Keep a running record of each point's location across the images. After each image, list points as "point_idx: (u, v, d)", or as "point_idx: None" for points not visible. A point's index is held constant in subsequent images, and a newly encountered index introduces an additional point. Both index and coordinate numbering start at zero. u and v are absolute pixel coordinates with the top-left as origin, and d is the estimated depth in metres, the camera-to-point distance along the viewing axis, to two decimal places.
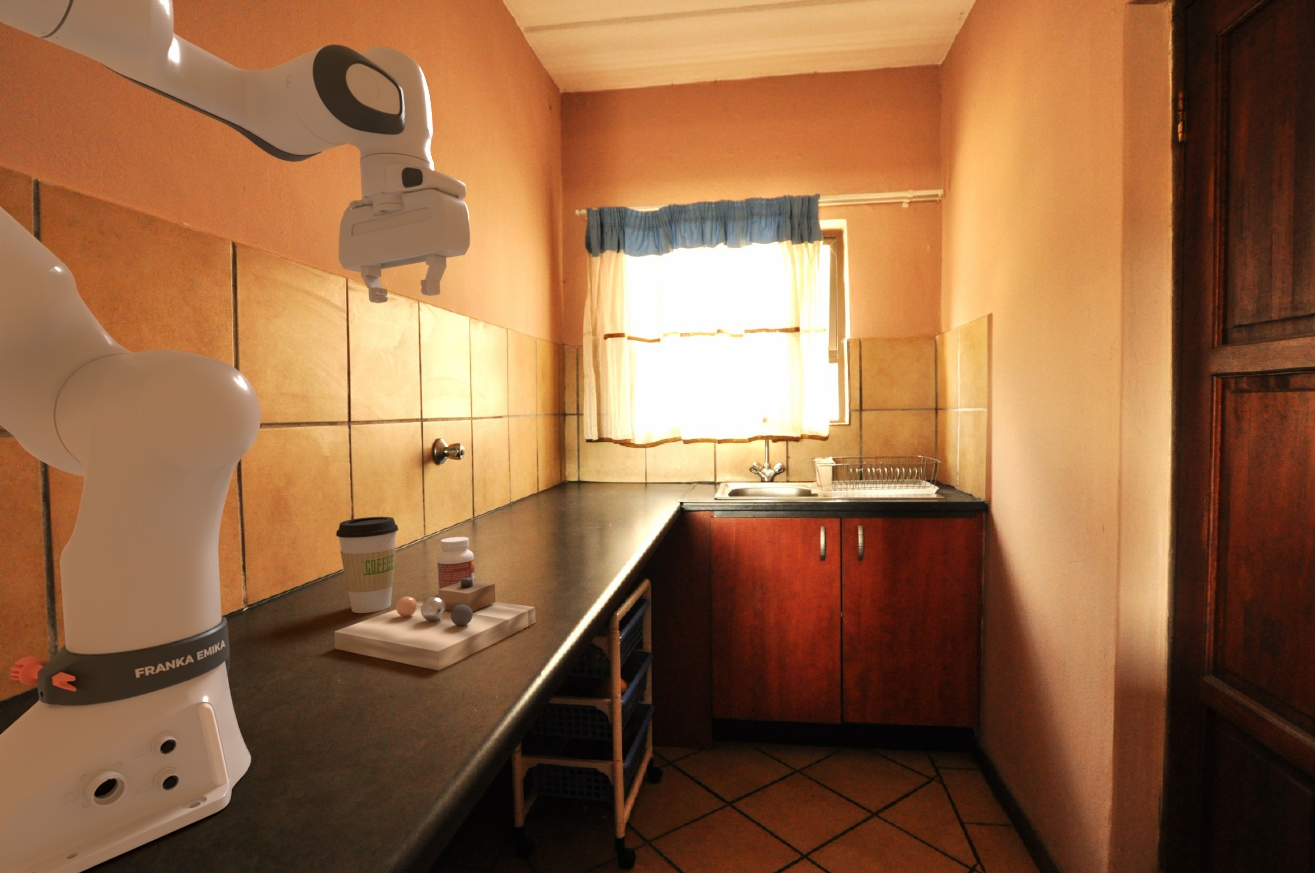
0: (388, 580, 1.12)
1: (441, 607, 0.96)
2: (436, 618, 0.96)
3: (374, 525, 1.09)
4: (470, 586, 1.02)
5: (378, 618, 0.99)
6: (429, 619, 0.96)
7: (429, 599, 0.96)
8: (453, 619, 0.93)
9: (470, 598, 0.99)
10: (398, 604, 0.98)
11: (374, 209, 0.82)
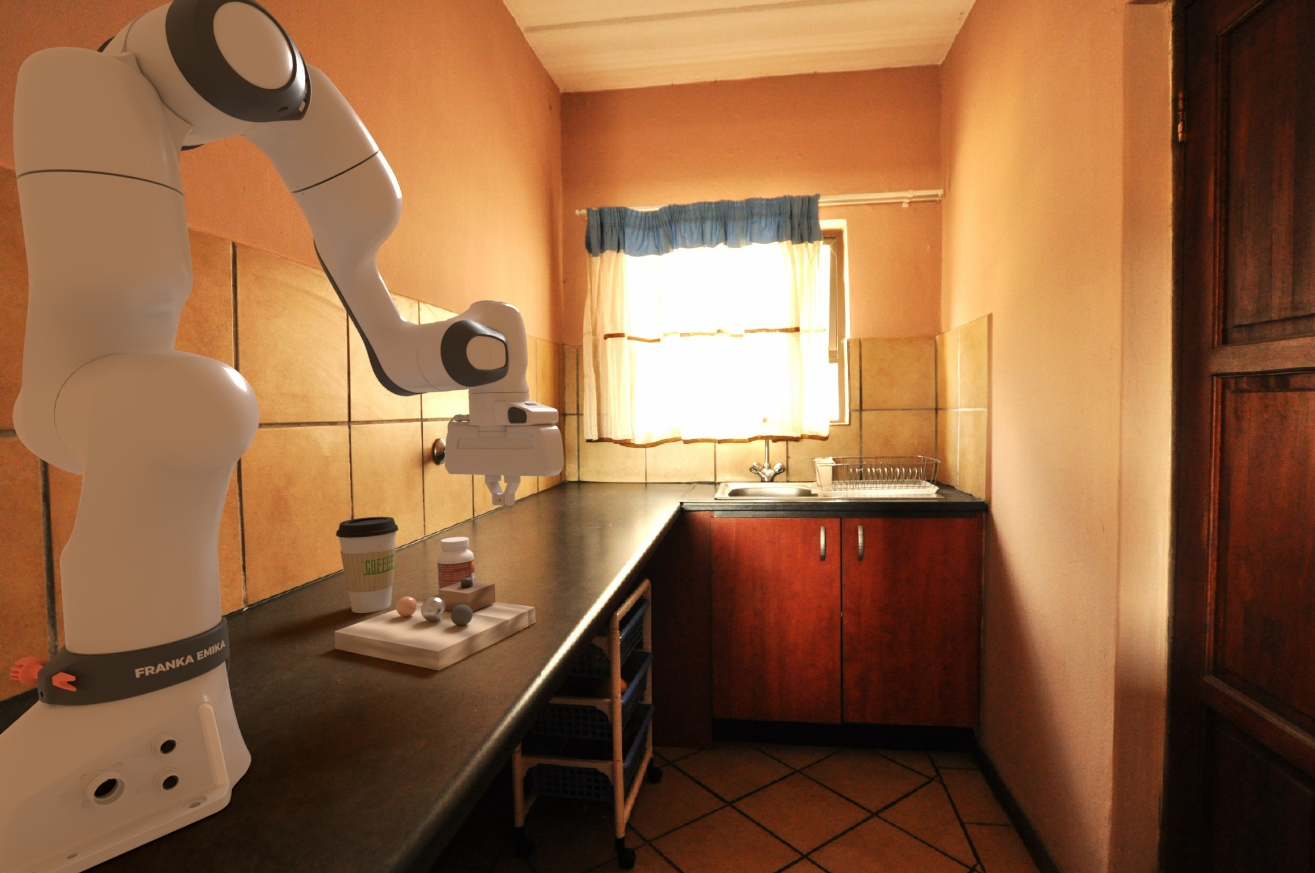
0: (388, 580, 1.12)
1: (441, 607, 0.96)
2: (436, 618, 0.96)
3: (374, 525, 1.09)
4: (470, 586, 1.02)
5: (378, 618, 0.99)
6: (429, 619, 0.96)
7: (429, 599, 0.96)
8: (453, 619, 0.93)
9: (470, 598, 0.99)
10: (398, 604, 0.98)
11: (480, 434, 0.96)
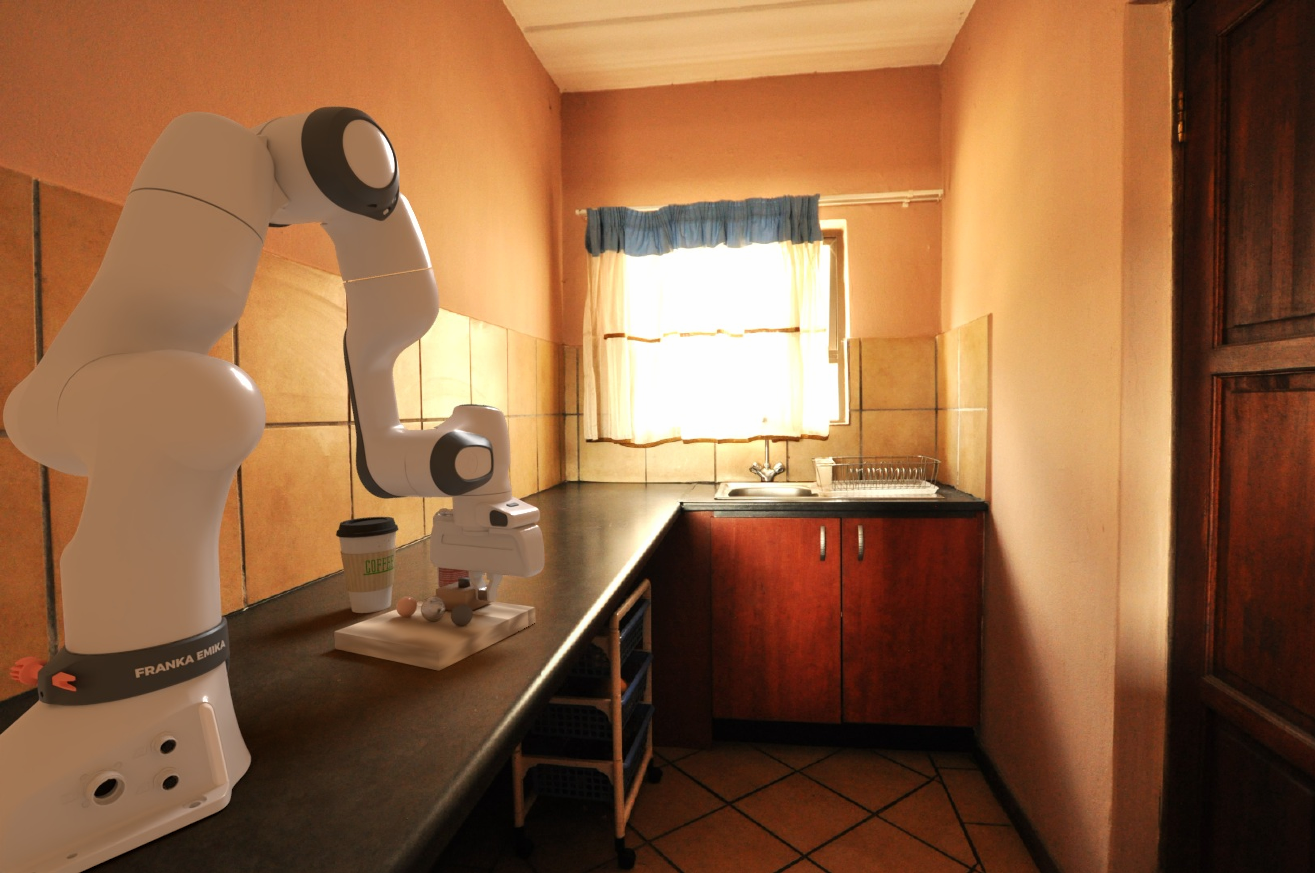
0: (388, 580, 1.12)
1: (441, 607, 0.96)
2: (436, 618, 0.96)
3: (374, 525, 1.09)
4: (467, 586, 1.03)
5: (378, 618, 0.99)
6: (429, 619, 0.96)
7: (429, 599, 0.96)
8: (453, 619, 0.93)
9: (467, 598, 1.00)
10: (398, 604, 0.98)
11: (464, 532, 0.99)
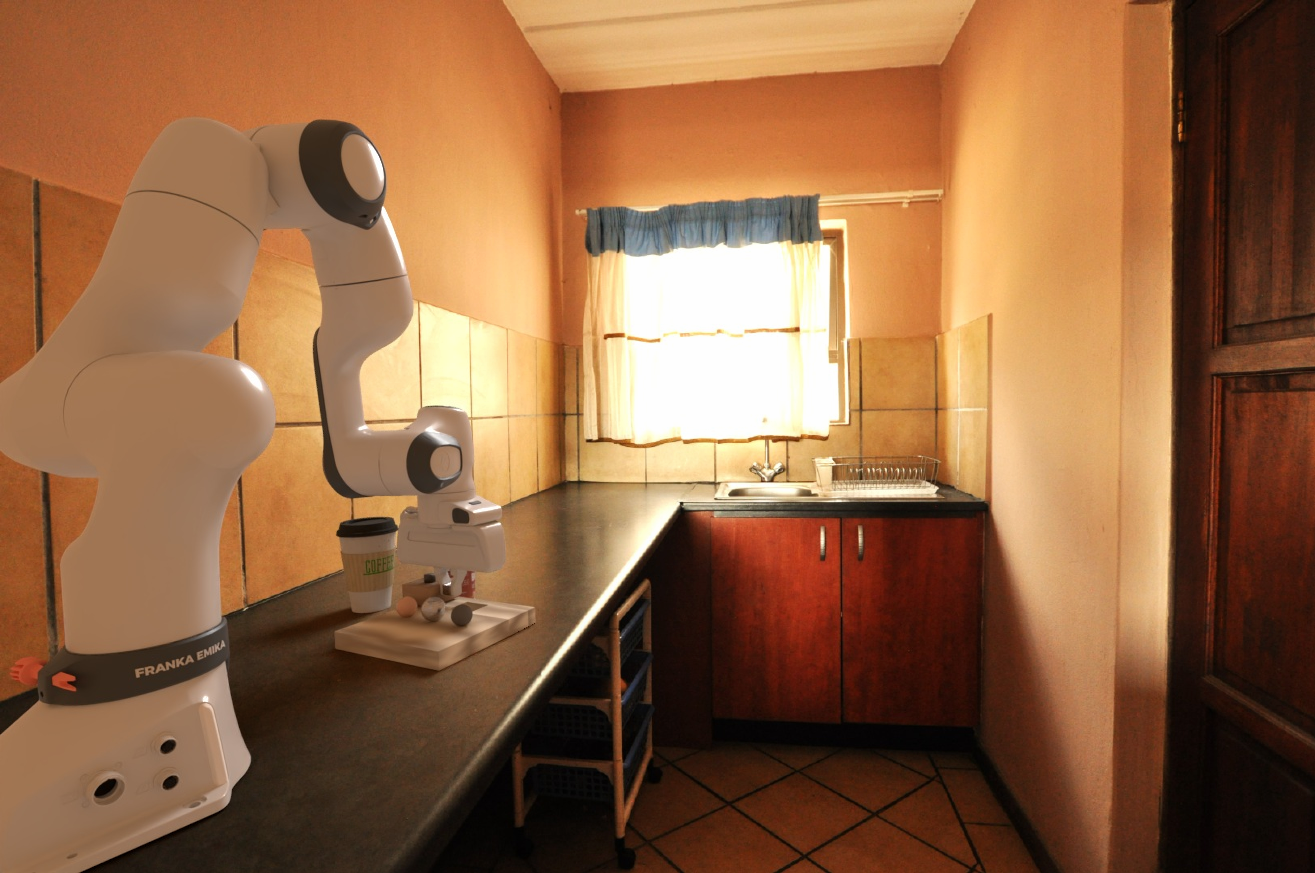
0: (388, 580, 1.12)
1: (441, 607, 0.96)
2: (436, 618, 0.96)
3: (374, 525, 1.09)
4: (433, 581, 1.06)
5: (378, 618, 0.99)
6: (429, 619, 0.96)
7: (429, 599, 0.96)
8: (453, 619, 0.93)
9: (432, 593, 1.03)
10: (398, 604, 0.98)
11: (428, 529, 1.02)
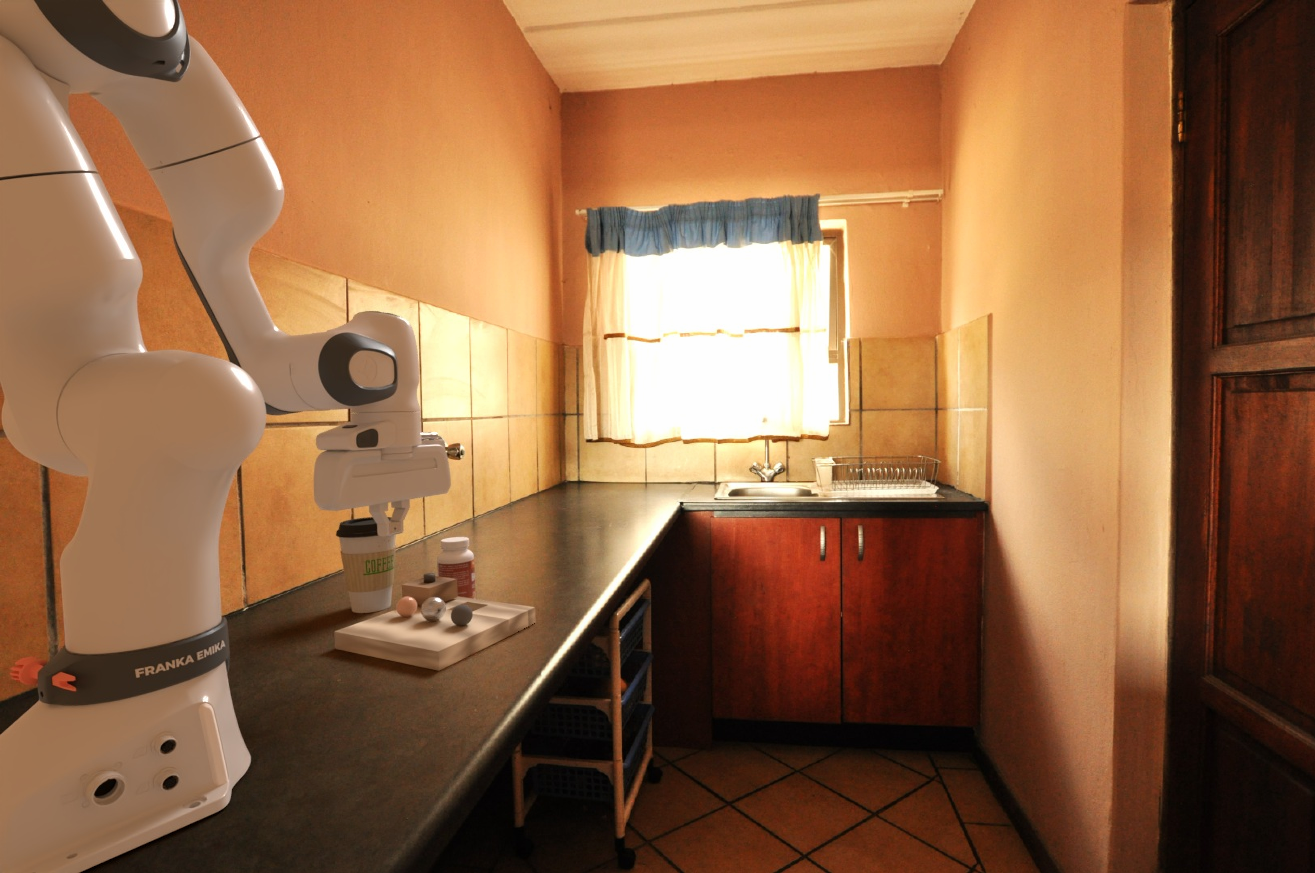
0: (388, 580, 1.12)
1: (441, 607, 0.96)
2: (436, 618, 0.96)
3: (374, 525, 1.09)
4: (432, 581, 1.06)
5: (378, 618, 0.99)
6: (429, 619, 0.96)
7: (429, 599, 0.96)
8: (453, 619, 0.93)
9: (431, 593, 1.03)
10: (398, 604, 0.98)
11: None
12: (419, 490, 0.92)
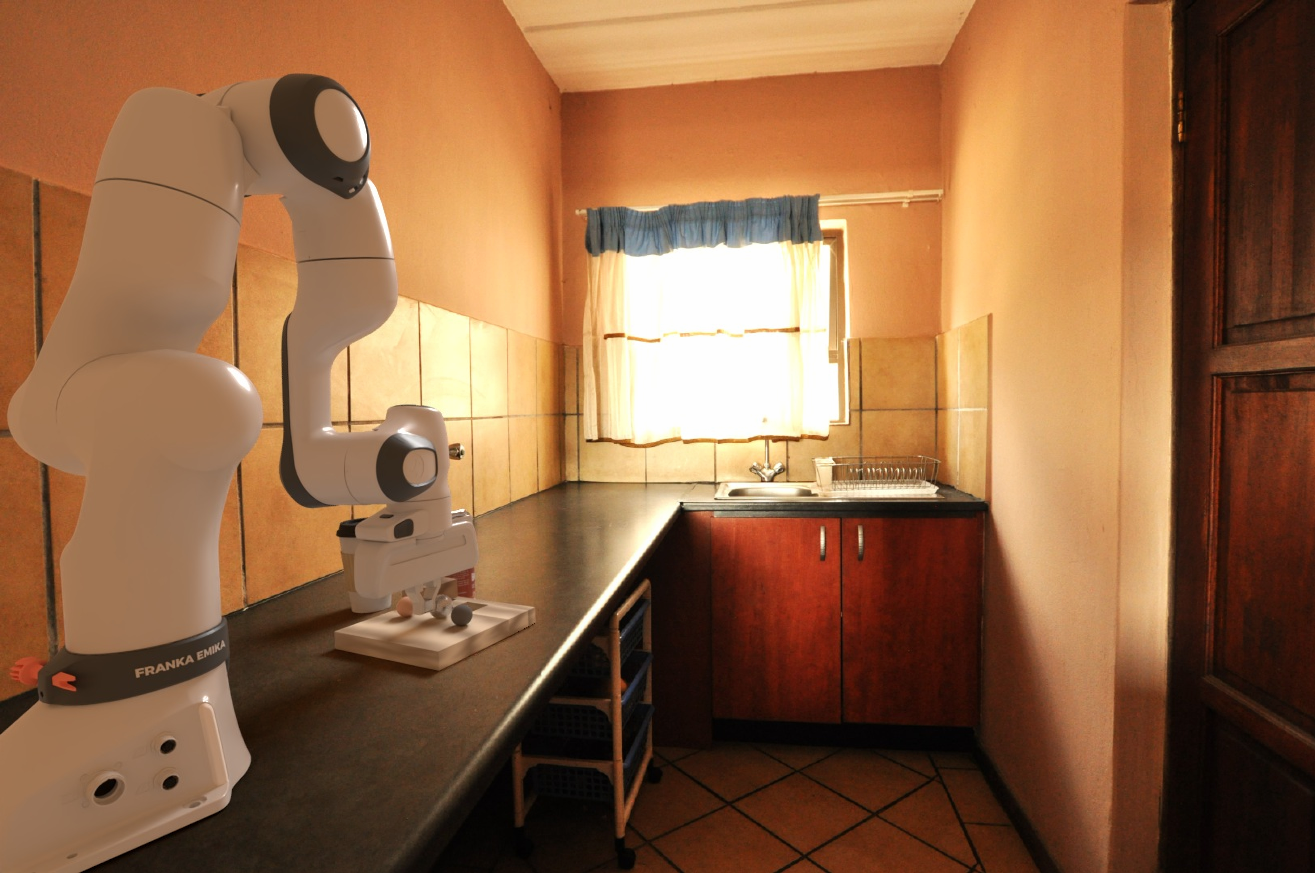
0: None
1: (450, 604, 0.97)
2: (440, 611, 0.96)
3: None
4: None
5: (378, 618, 0.99)
6: None
7: None
8: (453, 619, 0.93)
9: None
10: (398, 604, 0.98)
11: None
12: (450, 568, 0.97)
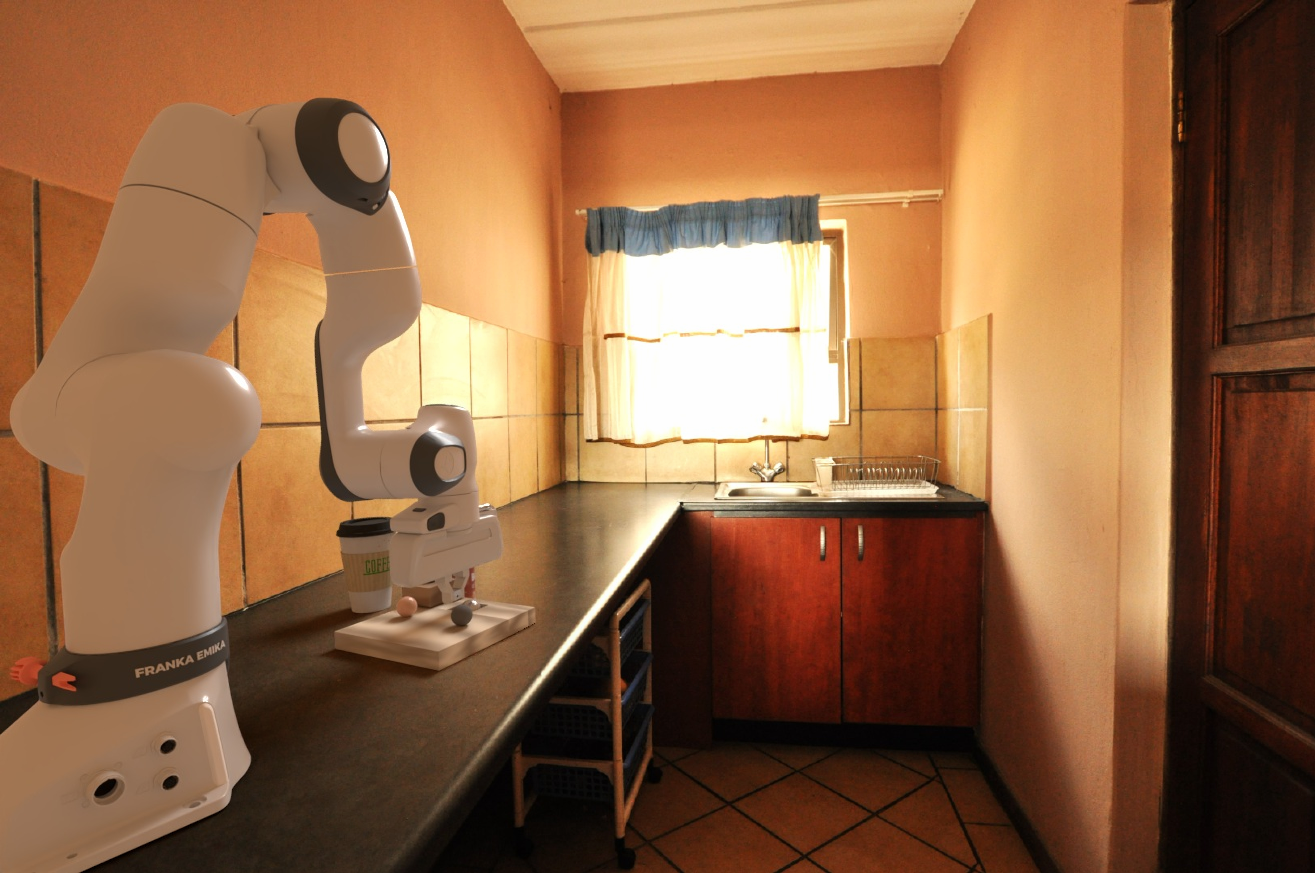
0: (388, 580, 1.12)
1: None
2: None
3: (374, 525, 1.09)
4: (432, 581, 1.06)
5: (378, 618, 0.99)
6: None
7: None
8: (453, 619, 0.93)
9: (431, 593, 1.03)
10: (398, 604, 0.98)
11: None
12: (477, 559, 1.03)
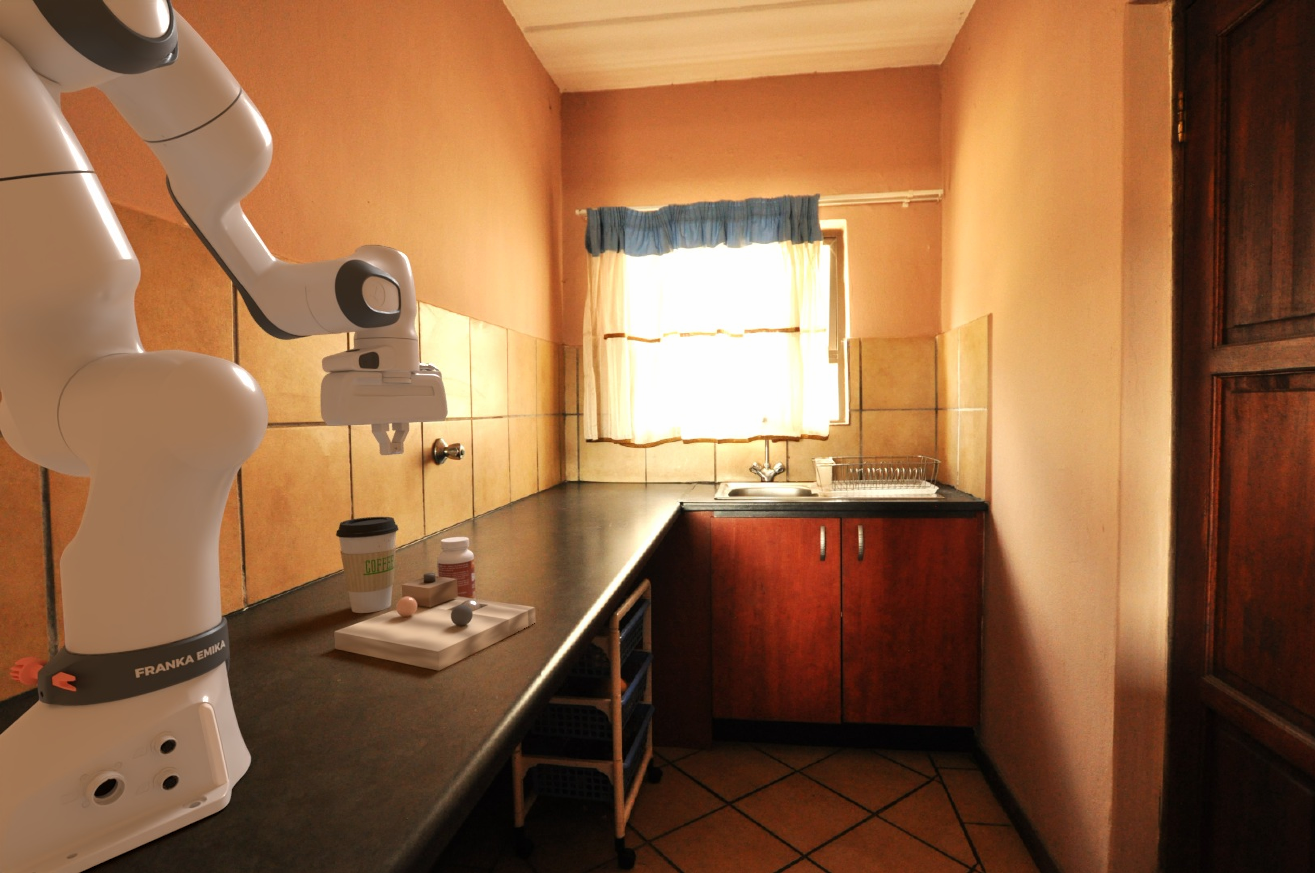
0: (388, 580, 1.12)
1: None
2: None
3: (374, 525, 1.09)
4: (432, 581, 1.06)
5: (378, 618, 0.99)
6: None
7: None
8: (453, 619, 0.93)
9: (431, 593, 1.03)
10: (398, 604, 0.98)
11: None
12: (418, 414, 1.00)
